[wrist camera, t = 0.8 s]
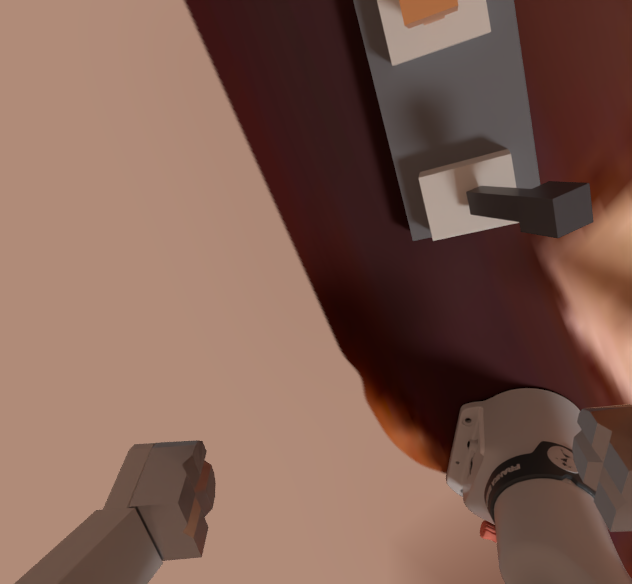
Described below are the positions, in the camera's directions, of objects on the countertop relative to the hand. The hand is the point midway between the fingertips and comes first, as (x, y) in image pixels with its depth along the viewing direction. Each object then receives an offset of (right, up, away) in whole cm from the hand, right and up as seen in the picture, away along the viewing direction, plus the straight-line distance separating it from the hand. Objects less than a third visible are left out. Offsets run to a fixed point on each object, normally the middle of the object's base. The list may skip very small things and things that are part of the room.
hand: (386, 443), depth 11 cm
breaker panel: (+13, +23, +41) cm, 49 cm away
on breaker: (+15, +13, +38) cm, 42 cm away
